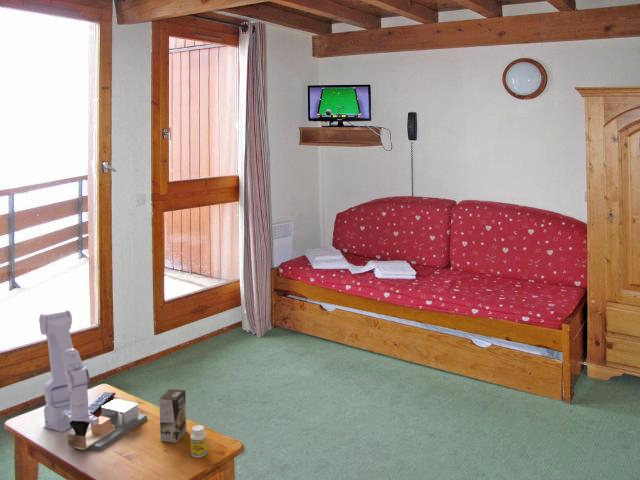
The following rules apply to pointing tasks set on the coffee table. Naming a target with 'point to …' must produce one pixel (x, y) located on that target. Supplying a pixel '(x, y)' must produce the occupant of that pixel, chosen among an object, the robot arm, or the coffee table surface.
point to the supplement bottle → (198, 441)
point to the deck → (116, 431)
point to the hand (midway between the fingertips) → (81, 439)
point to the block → (101, 425)
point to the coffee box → (172, 415)
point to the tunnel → (121, 411)
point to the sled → (86, 439)
